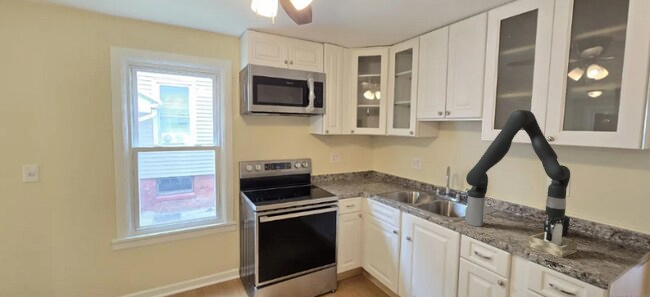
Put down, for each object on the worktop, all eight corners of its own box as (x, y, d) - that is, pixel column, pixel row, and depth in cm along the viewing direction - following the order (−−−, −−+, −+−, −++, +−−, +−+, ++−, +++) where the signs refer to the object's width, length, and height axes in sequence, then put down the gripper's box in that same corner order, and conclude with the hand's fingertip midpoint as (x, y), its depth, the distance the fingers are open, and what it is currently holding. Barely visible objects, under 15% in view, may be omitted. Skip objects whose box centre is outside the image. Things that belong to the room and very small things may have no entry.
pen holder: (564, 237, 156) (566, 220, 155) (544, 232, 163) (545, 215, 163) (570, 234, 161) (572, 217, 160) (550, 229, 169) (552, 212, 168)
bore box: (528, 246, 144) (529, 236, 144) (543, 241, 150) (544, 232, 150) (561, 257, 131) (562, 247, 131) (576, 252, 138) (577, 242, 137)
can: (553, 242, 144) (555, 219, 143) (564, 248, 138) (566, 224, 137) (540, 242, 144) (542, 219, 143) (551, 248, 138) (553, 224, 136)
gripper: (554, 202, 146) (551, 234, 147) (538, 205, 139) (535, 238, 141) (572, 206, 139) (569, 239, 140) (556, 209, 133) (553, 244, 134)
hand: (552, 239), depth 141 cm, fingers closed on can, 6 cm apart
